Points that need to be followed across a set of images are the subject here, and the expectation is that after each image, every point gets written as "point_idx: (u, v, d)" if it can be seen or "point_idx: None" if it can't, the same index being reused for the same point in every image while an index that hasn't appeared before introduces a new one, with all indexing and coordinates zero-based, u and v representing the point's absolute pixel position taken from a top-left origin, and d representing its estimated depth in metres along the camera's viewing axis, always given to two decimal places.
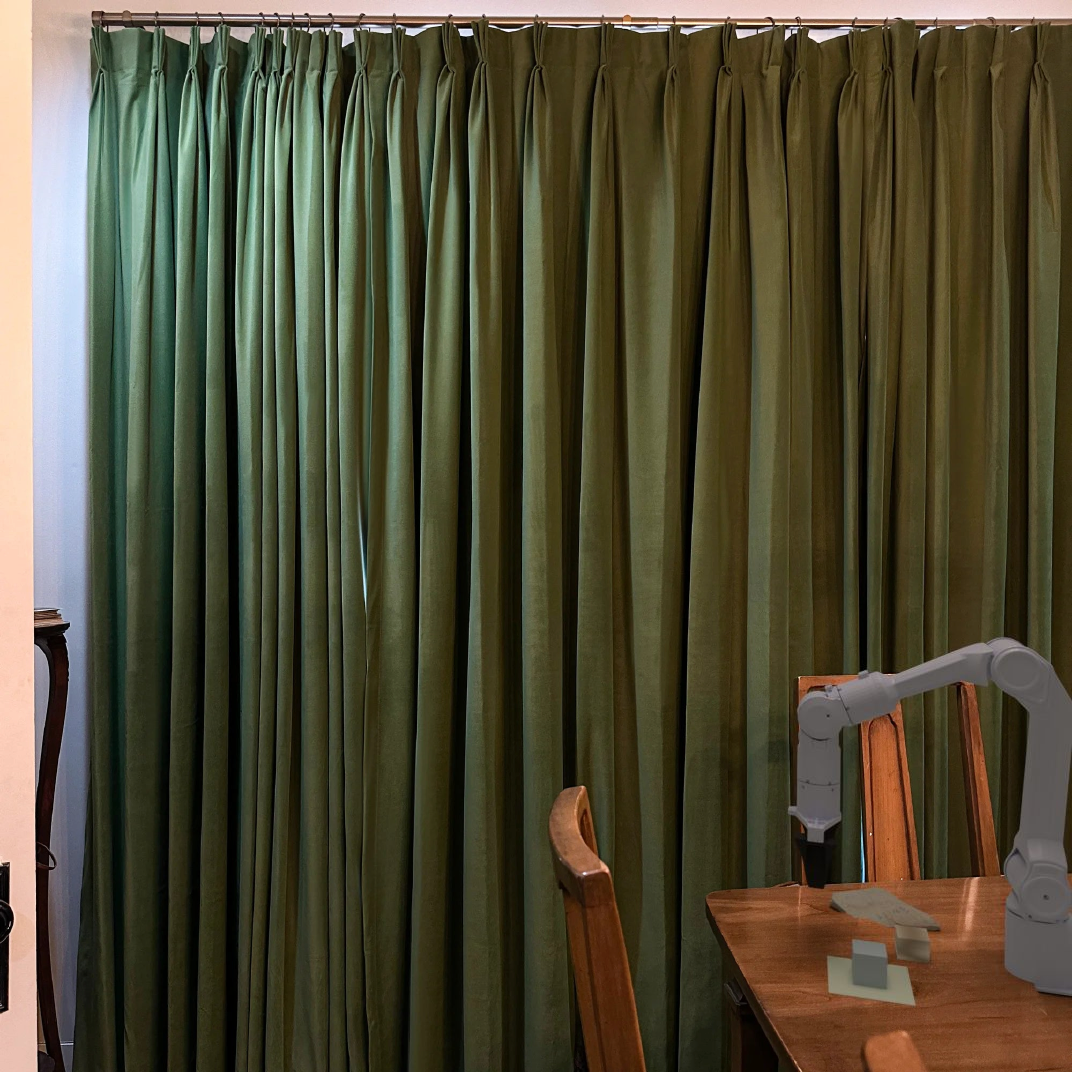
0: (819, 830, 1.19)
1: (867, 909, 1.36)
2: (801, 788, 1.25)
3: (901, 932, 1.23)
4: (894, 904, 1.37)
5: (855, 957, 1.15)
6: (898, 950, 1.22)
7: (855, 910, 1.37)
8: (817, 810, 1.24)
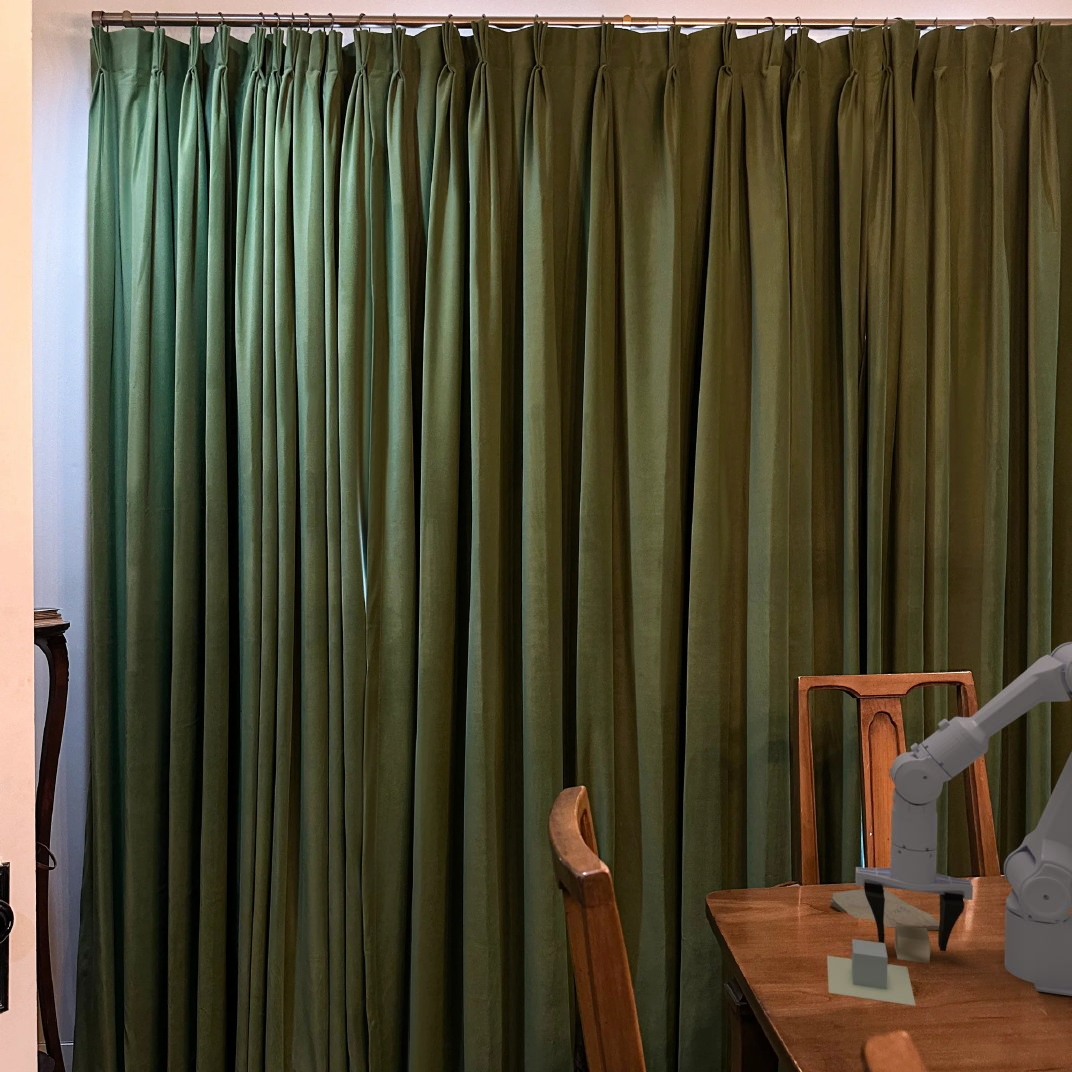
0: (856, 873, 1.24)
1: (868, 909, 1.36)
2: None
3: (901, 932, 1.23)
4: (895, 904, 1.37)
5: (855, 957, 1.15)
6: (898, 950, 1.22)
7: (856, 910, 1.36)
8: (890, 866, 1.24)
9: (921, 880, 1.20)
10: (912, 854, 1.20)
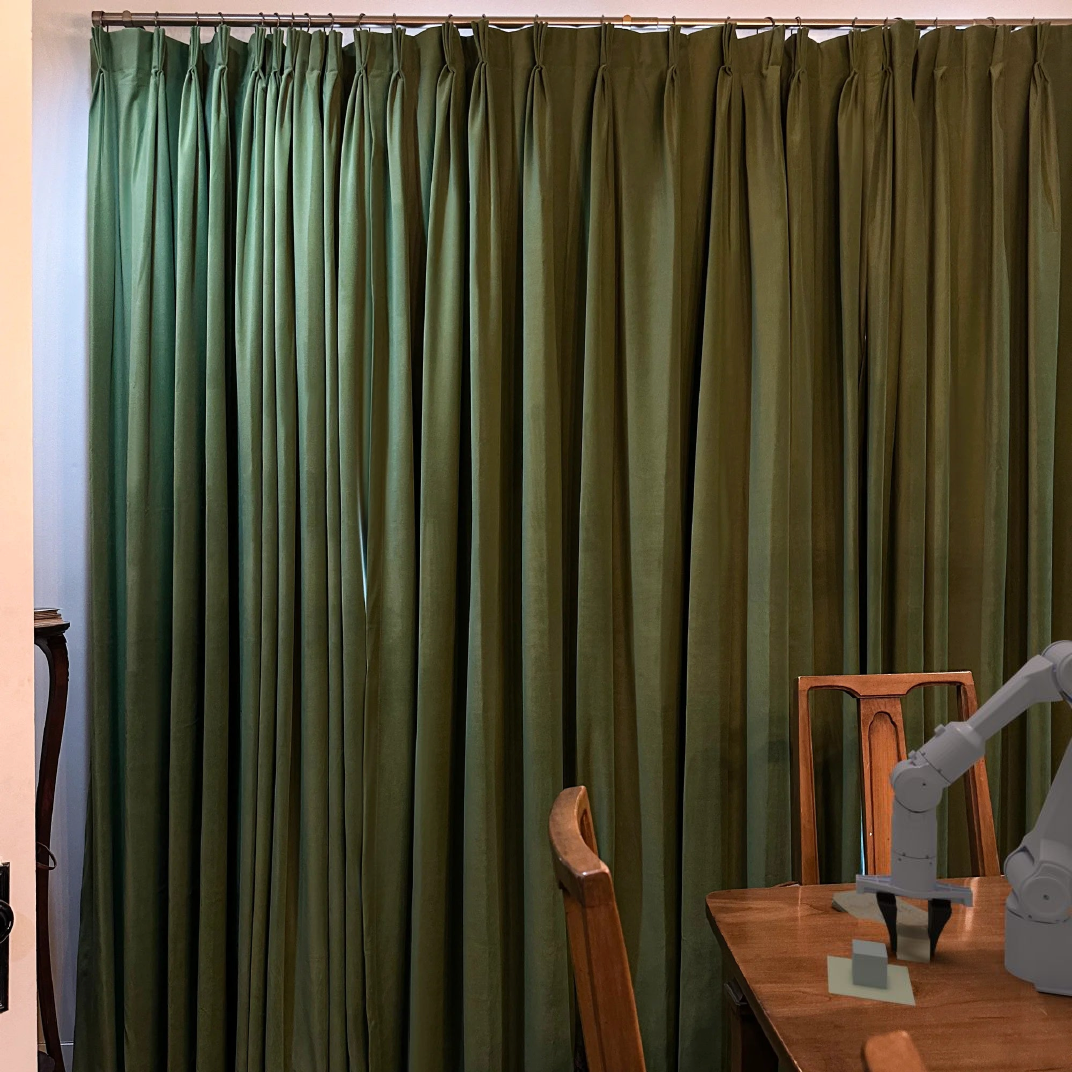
0: (856, 880, 1.24)
1: (869, 909, 1.36)
2: None
3: (901, 931, 1.23)
4: (896, 903, 1.37)
5: (855, 957, 1.15)
6: (898, 949, 1.22)
7: (857, 910, 1.36)
8: None
9: (921, 888, 1.20)
10: (912, 862, 1.20)
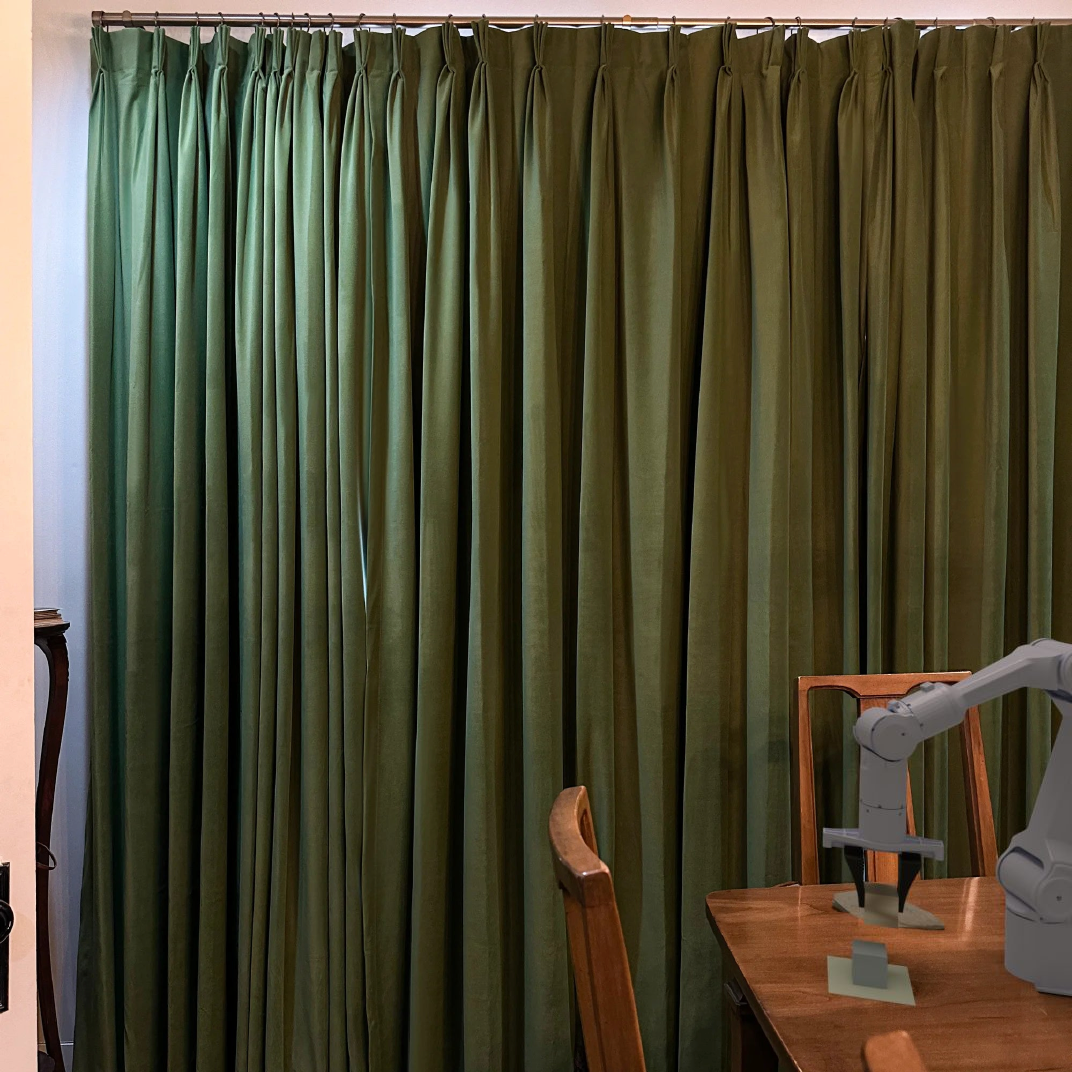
0: (823, 833, 1.19)
1: None
2: None
3: (869, 888, 1.18)
4: None
5: (855, 957, 1.15)
6: (865, 906, 1.17)
7: (859, 910, 1.36)
8: None
9: (890, 840, 1.15)
10: (880, 812, 1.15)
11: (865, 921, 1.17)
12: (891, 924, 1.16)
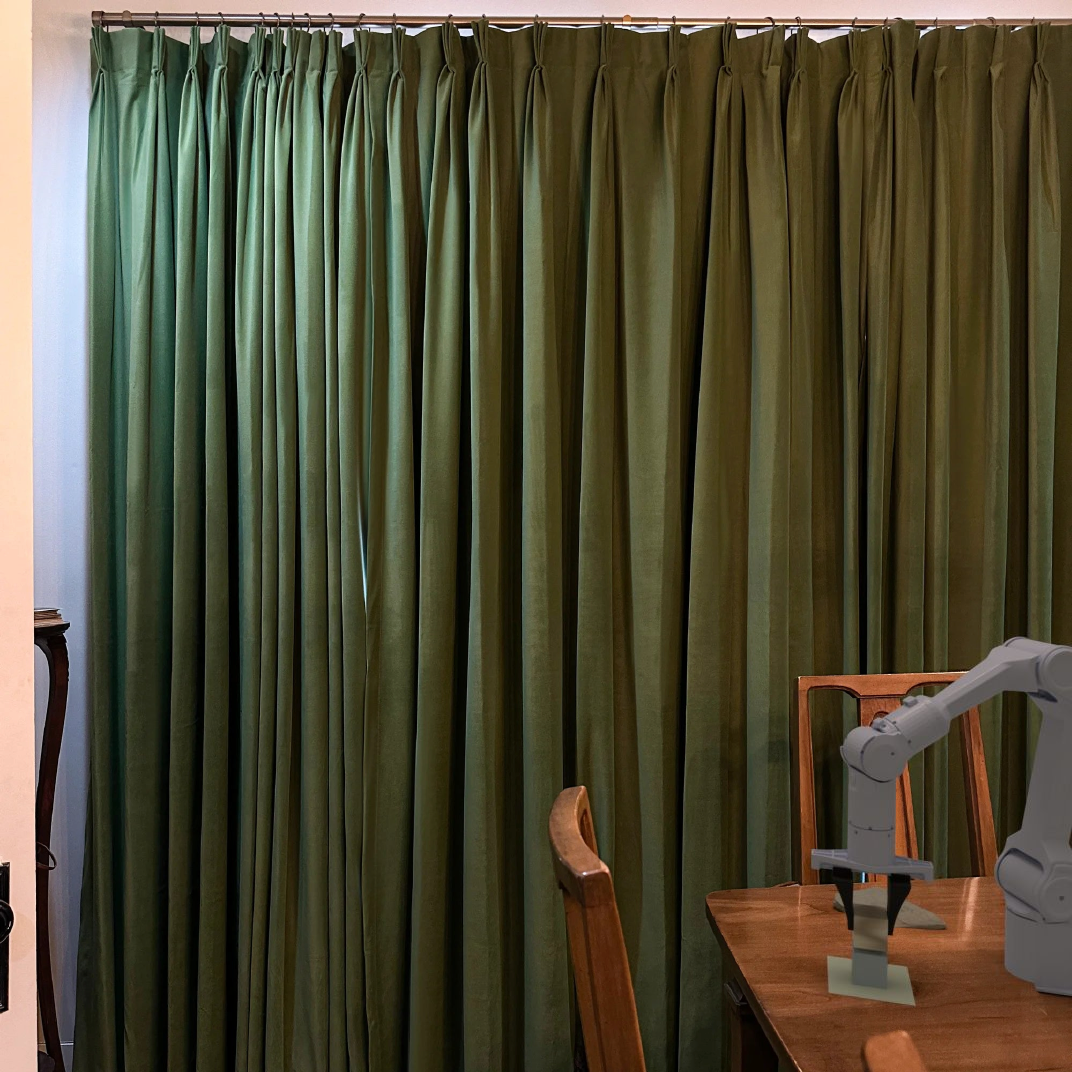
0: (811, 855, 1.17)
1: None
2: None
3: (858, 911, 1.16)
4: None
5: (855, 957, 1.15)
6: (854, 929, 1.15)
7: None
8: None
9: (879, 862, 1.13)
10: (869, 834, 1.13)
11: (854, 944, 1.15)
12: (880, 947, 1.14)
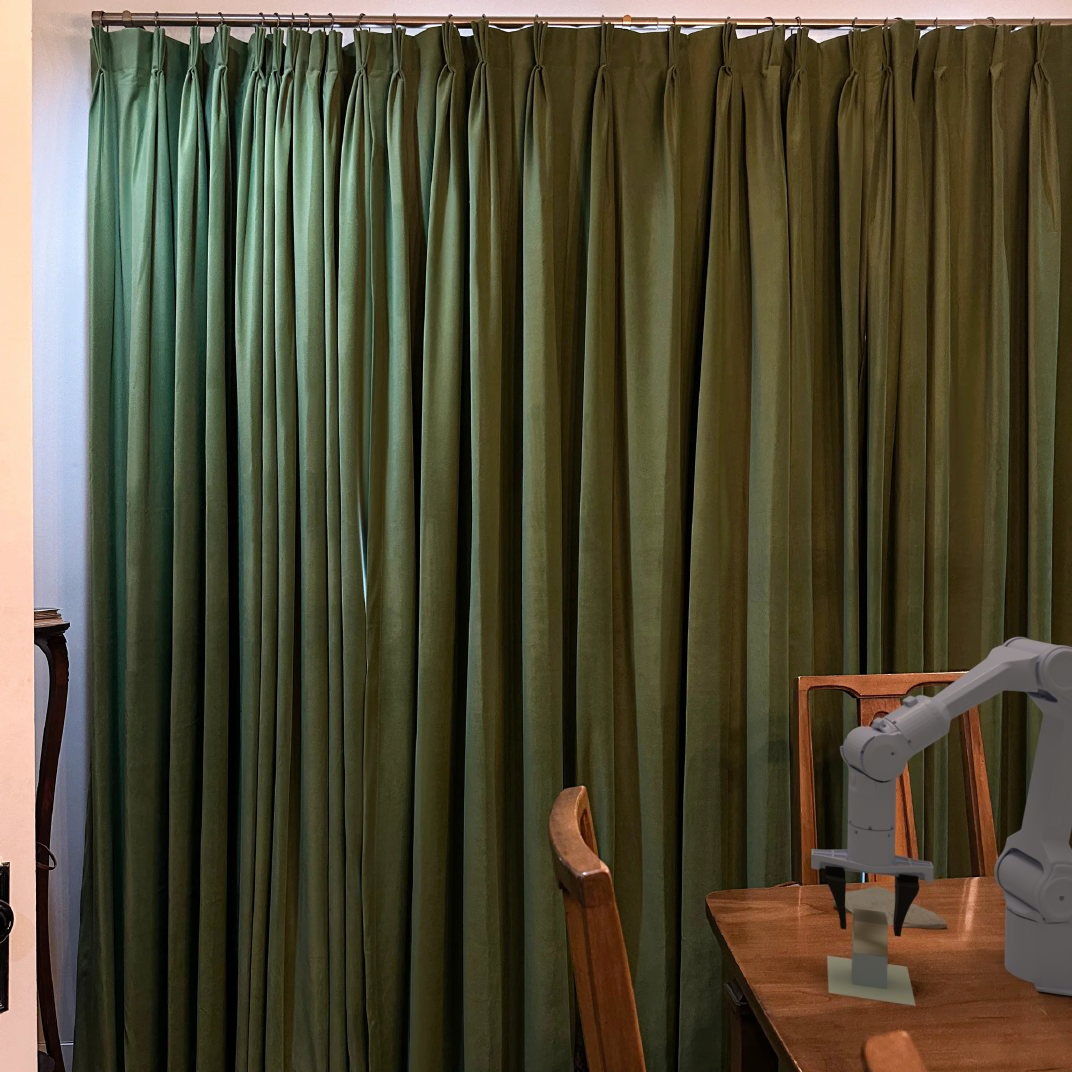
0: (811, 855, 1.17)
1: (873, 909, 1.36)
2: None
3: (858, 916, 1.16)
4: None
5: (855, 957, 1.15)
6: (854, 934, 1.15)
7: None
8: (847, 848, 1.17)
9: (879, 862, 1.13)
10: (869, 834, 1.13)
11: (854, 949, 1.15)
12: (881, 952, 1.14)
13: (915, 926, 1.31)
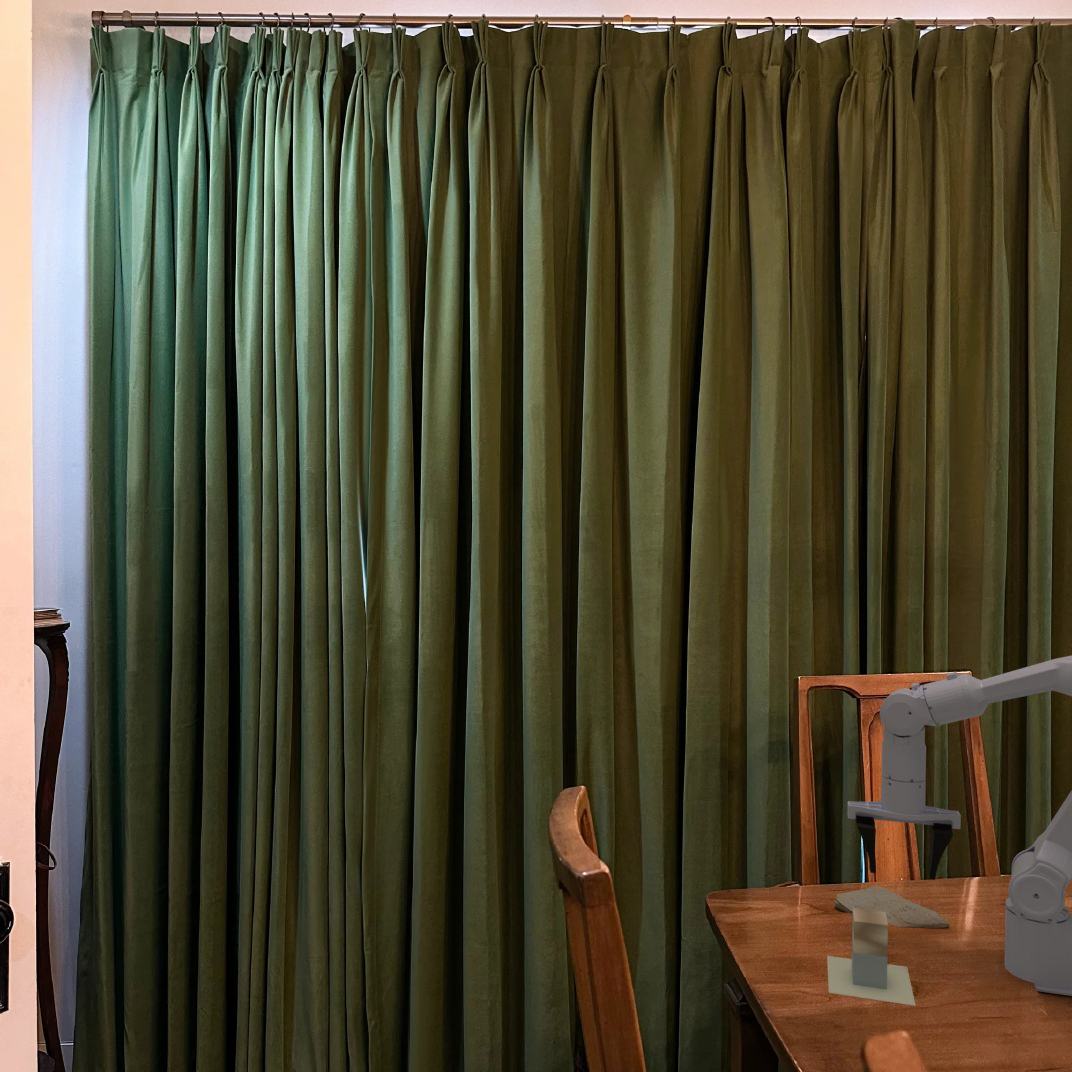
0: (848, 806, 1.28)
1: (874, 909, 1.36)
2: None
3: (858, 916, 1.16)
4: (899, 903, 1.37)
5: (855, 957, 1.15)
6: (854, 934, 1.15)
7: None
8: (881, 799, 1.27)
9: (911, 810, 1.24)
10: (902, 785, 1.24)
11: (854, 949, 1.15)
12: (881, 952, 1.14)
13: (918, 926, 1.31)
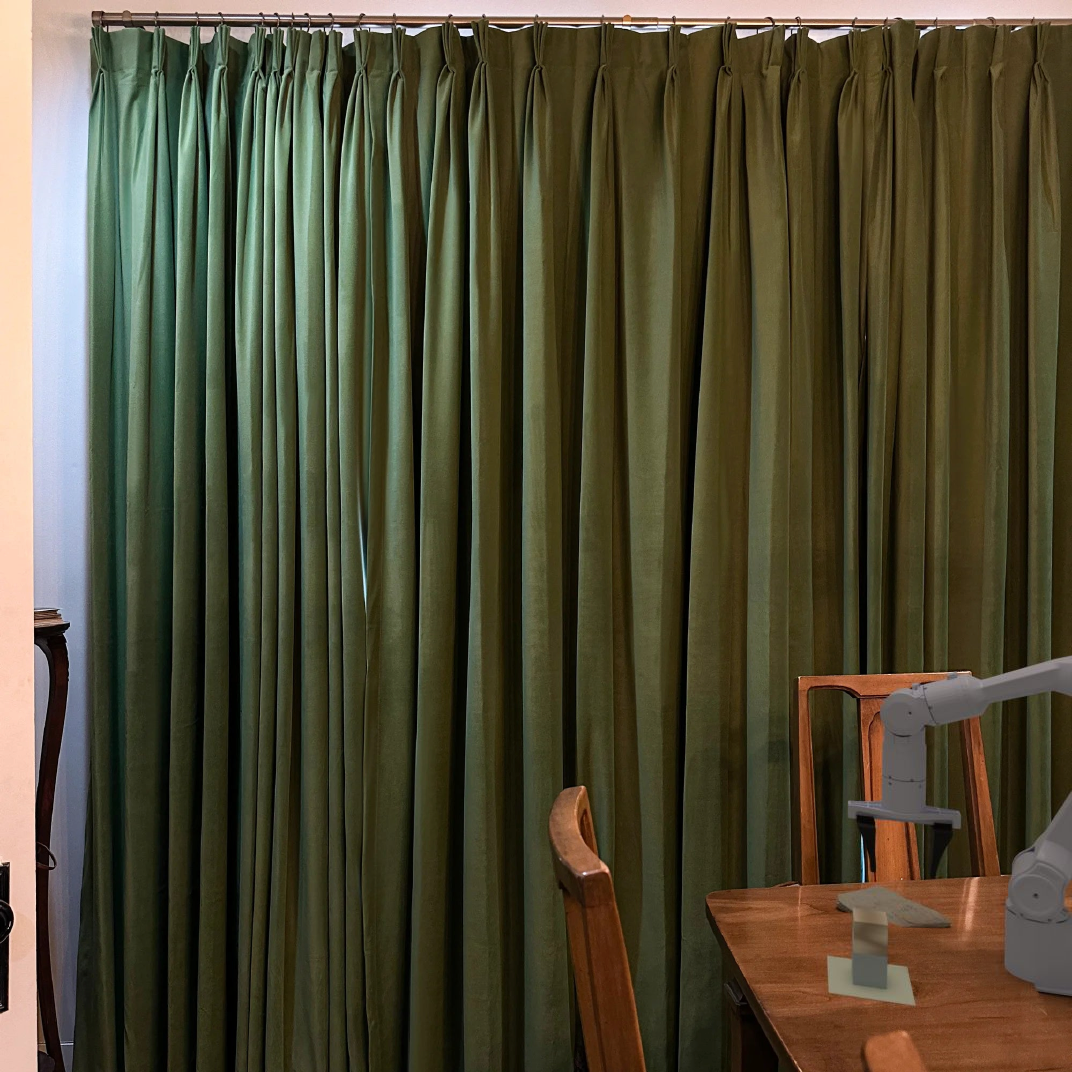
0: (848, 805, 1.28)
1: (876, 909, 1.36)
2: None
3: (858, 916, 1.16)
4: (900, 902, 1.38)
5: (855, 957, 1.15)
6: (854, 934, 1.15)
7: None
8: (881, 799, 1.28)
9: (911, 810, 1.24)
10: (902, 785, 1.24)
11: (854, 949, 1.15)
12: (881, 952, 1.14)
13: (920, 925, 1.31)
